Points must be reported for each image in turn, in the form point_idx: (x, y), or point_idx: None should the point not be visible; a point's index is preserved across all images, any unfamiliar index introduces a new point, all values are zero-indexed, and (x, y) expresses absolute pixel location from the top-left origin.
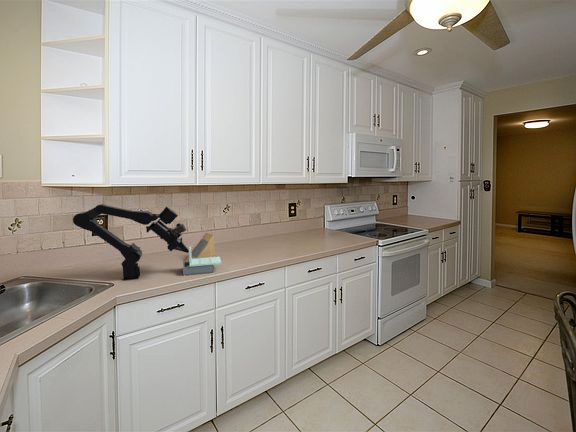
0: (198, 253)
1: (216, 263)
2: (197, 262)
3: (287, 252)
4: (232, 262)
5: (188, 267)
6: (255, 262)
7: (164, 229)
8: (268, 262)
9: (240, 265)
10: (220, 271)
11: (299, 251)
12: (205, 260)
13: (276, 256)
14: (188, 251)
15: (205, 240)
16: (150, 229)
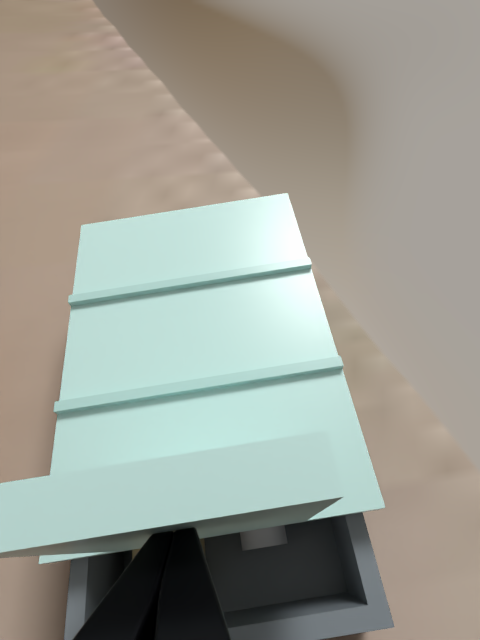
0: None
1: (296, 231)
2: (263, 410)
3: (8, 34)
4: (63, 217)
5: (366, 530)
6: (121, 119)
7: None
8: (145, 79)
9: (154, 174)
10: None
11: (20, 9)
12: (192, 329)
13: (53, 60)
14: (201, 545)
15: None
16: None
